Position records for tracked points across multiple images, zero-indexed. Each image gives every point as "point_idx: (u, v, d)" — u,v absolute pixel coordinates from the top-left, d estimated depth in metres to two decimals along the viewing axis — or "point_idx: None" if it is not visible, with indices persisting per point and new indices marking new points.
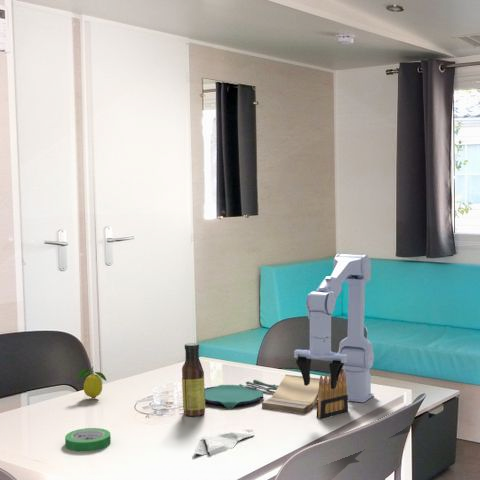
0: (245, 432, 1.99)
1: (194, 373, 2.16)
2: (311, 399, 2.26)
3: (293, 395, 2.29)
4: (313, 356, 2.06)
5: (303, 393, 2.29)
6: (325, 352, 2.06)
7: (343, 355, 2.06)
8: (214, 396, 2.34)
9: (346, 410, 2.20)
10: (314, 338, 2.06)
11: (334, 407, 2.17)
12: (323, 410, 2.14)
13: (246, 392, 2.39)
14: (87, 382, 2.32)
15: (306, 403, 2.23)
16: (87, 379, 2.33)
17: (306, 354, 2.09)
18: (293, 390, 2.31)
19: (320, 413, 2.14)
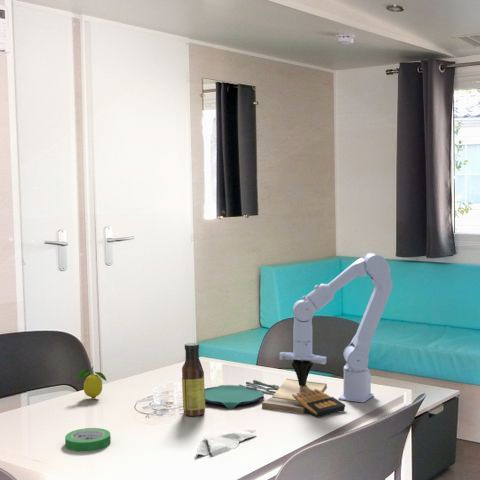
0: (247, 432, 1.99)
1: (194, 373, 2.16)
2: None
3: None
4: (296, 358, 2.30)
5: None
6: (306, 354, 2.31)
7: (323, 357, 2.30)
8: (214, 396, 2.33)
9: (342, 404, 2.21)
10: (297, 342, 2.31)
11: (327, 405, 2.20)
12: (315, 407, 2.17)
13: (246, 392, 2.39)
14: (87, 382, 2.32)
15: None
16: (87, 379, 2.33)
17: (290, 356, 2.33)
18: (294, 392, 2.31)
19: (314, 410, 2.16)
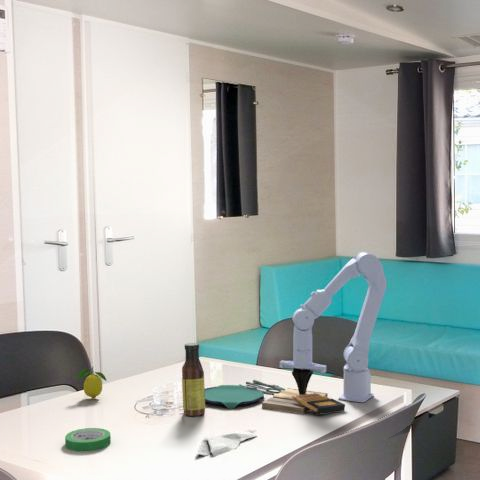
0: (248, 433, 1.99)
1: (194, 373, 2.16)
2: None
3: None
4: (296, 367, 2.30)
5: None
6: (306, 363, 2.31)
7: (323, 366, 2.31)
8: (215, 396, 2.33)
9: (342, 403, 2.22)
10: (297, 350, 2.31)
11: (327, 404, 2.20)
12: (315, 404, 2.17)
13: (246, 392, 2.39)
14: (87, 382, 2.32)
15: None
16: (87, 379, 2.33)
17: (290, 365, 2.33)
18: (294, 395, 2.32)
19: (314, 407, 2.16)
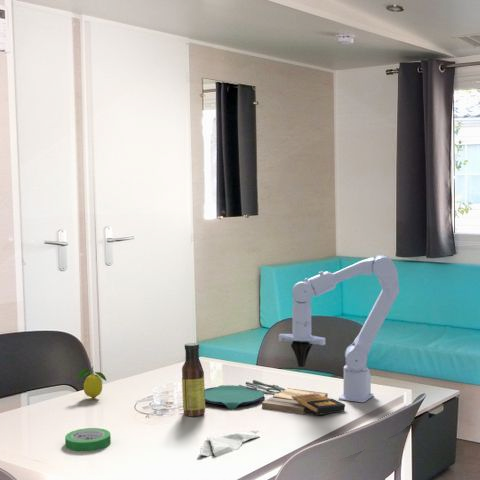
0: (250, 433, 1.99)
1: (194, 373, 2.16)
2: None
3: None
4: (295, 339, 2.32)
5: None
6: (306, 335, 2.32)
7: (322, 338, 2.32)
8: (215, 397, 2.33)
9: (342, 403, 2.22)
10: (296, 323, 2.32)
11: (327, 404, 2.20)
12: (315, 404, 2.17)
13: (247, 392, 2.38)
14: (87, 382, 2.32)
15: None
16: (87, 379, 2.33)
17: (289, 337, 2.35)
18: (294, 395, 2.32)
19: (314, 407, 2.16)
